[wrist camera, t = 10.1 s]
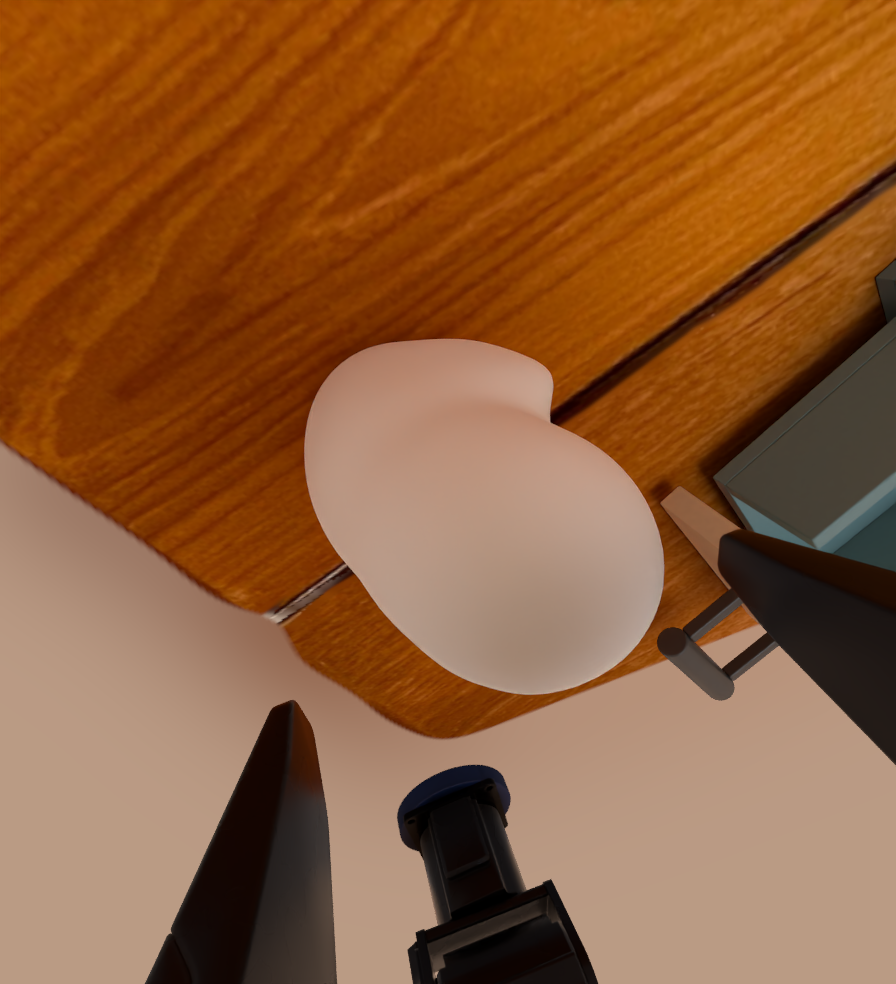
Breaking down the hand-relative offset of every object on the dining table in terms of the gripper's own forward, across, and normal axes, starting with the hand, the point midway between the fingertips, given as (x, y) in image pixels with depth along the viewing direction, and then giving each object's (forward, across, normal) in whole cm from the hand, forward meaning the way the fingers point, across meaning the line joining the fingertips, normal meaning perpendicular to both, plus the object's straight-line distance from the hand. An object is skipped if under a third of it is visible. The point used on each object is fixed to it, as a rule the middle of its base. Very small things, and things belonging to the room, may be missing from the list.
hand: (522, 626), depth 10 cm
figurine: (+11, 0, 0) cm, 11 cm away
